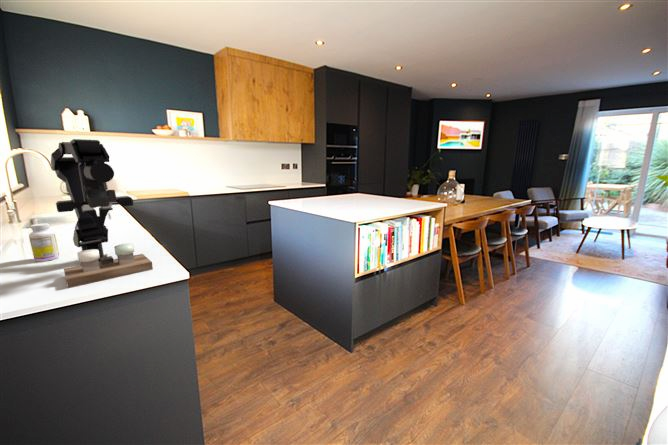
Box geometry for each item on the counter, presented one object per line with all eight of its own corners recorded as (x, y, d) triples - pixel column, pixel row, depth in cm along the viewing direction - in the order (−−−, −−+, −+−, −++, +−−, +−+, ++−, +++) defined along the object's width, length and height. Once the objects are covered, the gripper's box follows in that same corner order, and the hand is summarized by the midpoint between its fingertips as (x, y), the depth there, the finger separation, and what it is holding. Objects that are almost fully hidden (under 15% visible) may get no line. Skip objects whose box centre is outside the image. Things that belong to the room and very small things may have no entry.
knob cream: (79, 269, 92) (76, 251, 90) (100, 265, 95) (97, 248, 94) (81, 273, 88) (78, 255, 87) (102, 269, 91) (99, 251, 90)
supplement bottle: (45, 256, 112) (38, 222, 109) (64, 255, 112) (57, 222, 109) (29, 262, 105) (21, 226, 102) (49, 261, 106) (41, 226, 103)
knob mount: (65, 276, 92) (61, 259, 91) (143, 260, 107) (141, 245, 106) (68, 288, 84) (64, 269, 83) (152, 269, 98) (150, 253, 97)
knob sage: (115, 262, 98) (112, 245, 96) (133, 258, 101) (131, 242, 100) (118, 266, 94) (115, 248, 93) (137, 262, 98) (134, 245, 96)
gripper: (53, 184, 81) (64, 240, 84) (133, 181, 94) (140, 229, 97) (51, 182, 89) (61, 233, 92) (126, 179, 102) (132, 224, 105)
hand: (101, 230), depth 97 cm, fingers closed
